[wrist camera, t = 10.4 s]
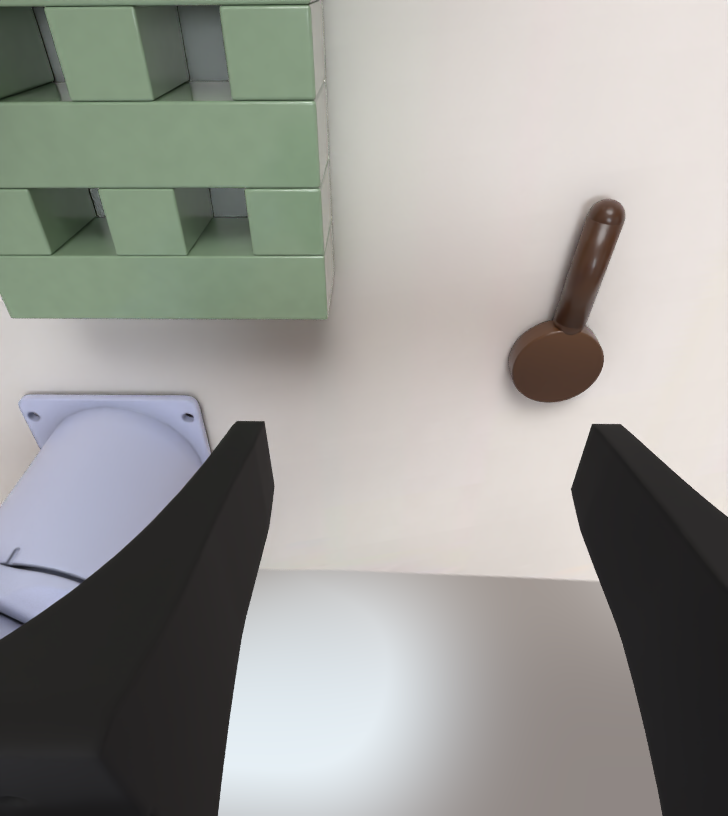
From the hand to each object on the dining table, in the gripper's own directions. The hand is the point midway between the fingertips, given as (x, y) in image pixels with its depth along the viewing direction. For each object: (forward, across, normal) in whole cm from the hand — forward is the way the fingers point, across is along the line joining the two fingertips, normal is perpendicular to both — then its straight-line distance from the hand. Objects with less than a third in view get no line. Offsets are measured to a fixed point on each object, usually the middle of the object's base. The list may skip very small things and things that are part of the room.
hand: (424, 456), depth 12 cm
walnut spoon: (+10, -7, -3) cm, 12 cm away
